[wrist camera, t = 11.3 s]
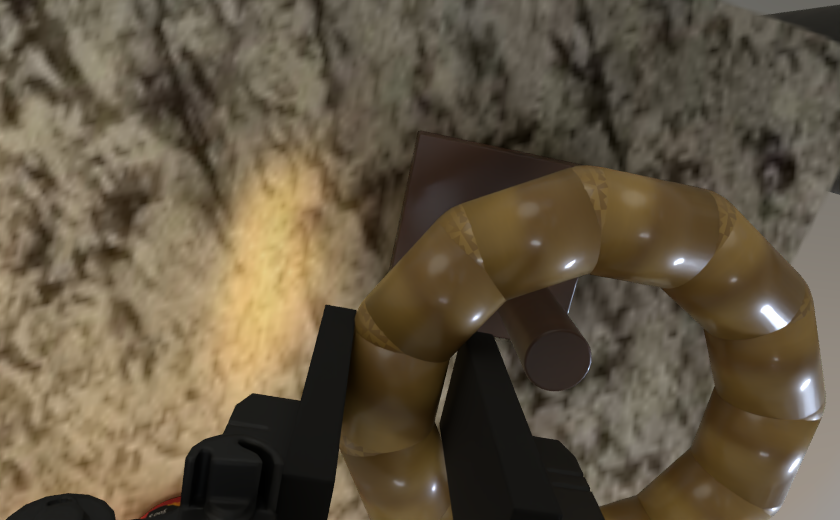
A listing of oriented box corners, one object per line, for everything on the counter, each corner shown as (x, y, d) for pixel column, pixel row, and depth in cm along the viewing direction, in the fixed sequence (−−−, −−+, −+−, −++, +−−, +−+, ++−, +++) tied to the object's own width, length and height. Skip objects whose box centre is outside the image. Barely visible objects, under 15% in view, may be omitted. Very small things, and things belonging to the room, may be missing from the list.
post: (599, 168, 30) (756, 244, 17) (550, 336, 33) (655, 511, 20) (418, 129, 29) (440, 179, 16) (381, 305, 32) (376, 469, 19)
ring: (852, 215, 16) (932, 241, 13) (696, 584, 19) (738, 655, 17) (391, 118, 14) (392, 129, 12) (311, 534, 18) (300, 605, 15)
